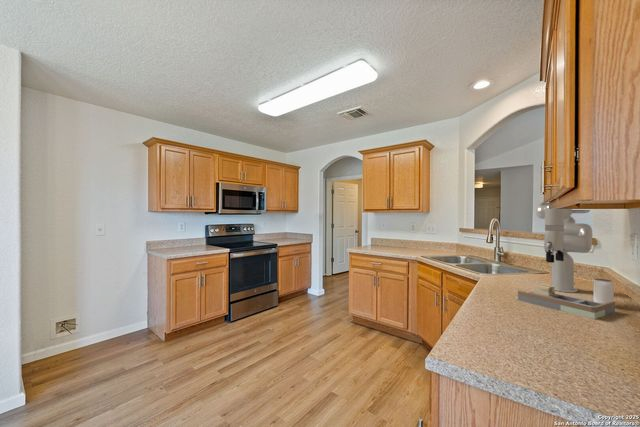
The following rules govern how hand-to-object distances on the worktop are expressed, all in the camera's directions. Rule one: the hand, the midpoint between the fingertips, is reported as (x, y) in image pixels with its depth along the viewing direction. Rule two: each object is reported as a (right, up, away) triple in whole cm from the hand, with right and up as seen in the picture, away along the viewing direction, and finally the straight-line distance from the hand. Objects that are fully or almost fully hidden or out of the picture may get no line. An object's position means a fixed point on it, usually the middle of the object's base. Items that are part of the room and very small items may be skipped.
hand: (554, 261), depth 137 cm
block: (-8, -16, -3) cm, 18 cm away
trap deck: (-8, -18, -13) cm, 24 cm away
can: (+12, -19, -13) cm, 25 cm away
